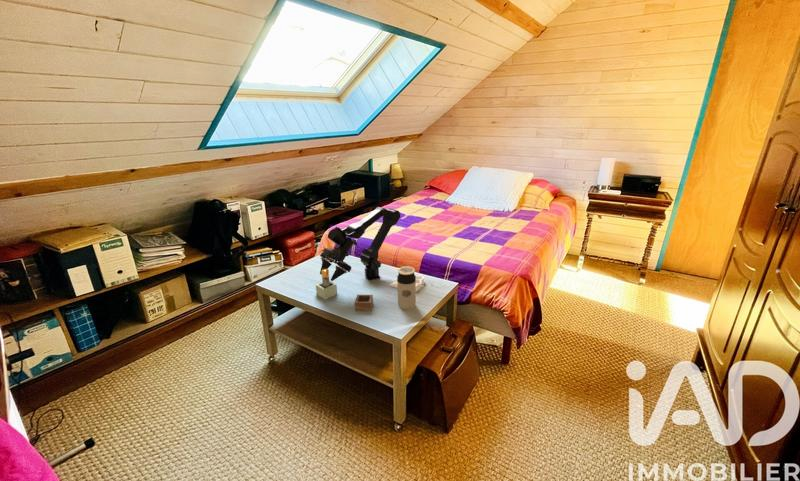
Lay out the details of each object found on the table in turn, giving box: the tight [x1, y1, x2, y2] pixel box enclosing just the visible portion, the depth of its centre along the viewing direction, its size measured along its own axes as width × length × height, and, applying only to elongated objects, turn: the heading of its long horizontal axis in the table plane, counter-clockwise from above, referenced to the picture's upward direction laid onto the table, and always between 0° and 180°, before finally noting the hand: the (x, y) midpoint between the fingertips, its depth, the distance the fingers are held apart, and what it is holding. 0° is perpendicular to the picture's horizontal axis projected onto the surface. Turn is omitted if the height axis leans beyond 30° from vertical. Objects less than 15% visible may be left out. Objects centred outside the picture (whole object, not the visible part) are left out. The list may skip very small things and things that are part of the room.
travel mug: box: [396, 266, 417, 310], centre depth 159 cm, size 8×8×18 cm
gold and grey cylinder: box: [320, 268, 330, 288], centre depth 170 cm, size 3×3×12 cm
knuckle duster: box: [389, 274, 425, 293], centre depth 179 cm, size 3×18×15 cm
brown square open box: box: [354, 294, 374, 312], centre depth 161 cm, size 7×7×5 cm
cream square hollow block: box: [315, 280, 338, 300], centre depth 172 cm, size 7×7×6 cm
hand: (325, 277), depth 169 cm, fingers open, 9 cm apart
